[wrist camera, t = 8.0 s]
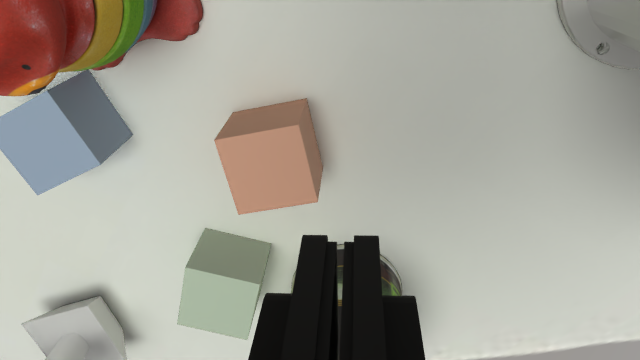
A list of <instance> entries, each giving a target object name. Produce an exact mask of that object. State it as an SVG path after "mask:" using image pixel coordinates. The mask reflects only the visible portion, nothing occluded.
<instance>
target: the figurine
mask: <svg viewBox="0 0 640 360" xmlns="http://www.w3.org/2000/svg"><path fill="white" fill-rule="evenodd" d="M22 326H23V327H24V328H25V330H26V331H27V332H28V333H29V335H30V336H31V337H32V339H33V340H34V341H35V342H36V344H37V345H38V346H39V348H40V349H41V350H42V352H43V353H44V354H45V355H46V357H47V358H46V359H45V360H127V357H126V349H125V342H124V335H123V328H122V327H121V325H120V324H119V322H118V321H117V319H116V318H115V316H114V315H113V313H112V312H111V311H110V309H109V308H108V306H107V305H106V303H105V302H104V300H103V299H102V297H101V296H97V297H94V298H90V299H86V300H83V301H79V302H76V303H72V304H68V305H65V306H62V307H60V308H57V309H55V310H53V311H50V312H48V313H46V314H43V315H41V316H38V317H36V318H34V319H31V320H29V321H27V322H24V323H22Z"/></svg>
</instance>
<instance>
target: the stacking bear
mask: <svg viewBox="0 0 640 360" xmlns="http://www.w3.org/2000/svg"><path fill="white" fill-rule="evenodd" d="M202 15H203V10H202V5H201V2H200V0H0V95H1V96H24V95H30V94H36V93H39V92H40V91H41V90H43V89H45V88H46V86H47V85H48V84H49V83H50V82H51V81H52V80H53V79H54V78H55V76H56V74H57V73H58V72H68V71H82V70H88V69H93V70H102V69H105V68H106V67H107V68H111V67H115V66H117V65H118V64H119V63H120V62H121V61H122V59H123V57H124V56H125V54H126V53H127V51H128V50H129V49H130V48H132V47H133V46H134V45H135V44H136V43H137V42H139V41H142V40H145V39H150V38H155V39H163V40H169V41H182V40H184V39H185V38H186V37H187V36H188V35H192V34H195V33H196V32H197V31H198V27H199V22H200V21H201V19H202Z"/></svg>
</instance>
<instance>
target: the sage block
mask: <svg viewBox="0 0 640 360" xmlns="http://www.w3.org/2000/svg"><path fill="white" fill-rule="evenodd" d="M270 247H271V243H267V242H263V241H258V240H254V239H250V238H246V237H241V236H237V235H233V234H229V233H224V232H220V231H216V230H212V229H207V228H205V230H204V232H203V234H202V236H201V238H200V240H199V242H198V244H197V245H196V247H195V249H194V251H193V253H192V255H191V257H190V259H189V261H188V263H187V265H186V267H185V274H184V281H183V287H182V294H181V301H180V308H179V315H178V322H177V324H179V325H183V326H187V327H192V328H196V329H201V330H205V331H209V332H214V333H218V334H223V335H227V336H232V337H236V338H240V339H245V340H247V339H248V336H249V332H250V328H251V324H252V321H253V317H254V313H255V310H256V306H257V302H258V298H259V295H260V290H261V286H262V282H263V277H264V273H265V268H266V264H267V260H268V255H269V251H270Z"/></svg>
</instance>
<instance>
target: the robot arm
mask: <svg viewBox="0 0 640 360" xmlns="http://www.w3.org/2000/svg"><path fill="white" fill-rule="evenodd" d="M557 4H558V9H559V15H560V18H561V20H562V22H563V25H564V27H565V30H566V31H567V33H568V34H569V36H570V37H571V39H572V40H573V41H574V43H575V44H576V45H577V46H578V47H580V48H581V49H582V50H583V51H584V52H585V53H586V54H588V55H590V56H591V57H593V58H595V59H596V60H598V61H601V62H603V63H606V64H608V65H611V66H613V67H619V68H624V69H640V0H557ZM600 43H601V47H600V48H599V49H596V48H597V46H598V45H599V44H600ZM338 347H339V328H338V273H337V242H328V237H327V235H303V237H302V242H301V247H300V253H299V258H298V264H297V270H296V275H295V281H294V286H293V292H292V294H284V293H267V294H266V295H265V297H264V300H263V304H262V308H261V312H260V316H259V320H258V324H257V327H256V331H255V335H254V339H253V343H252V347H251V351H250V355H249V359H248V360H338ZM339 360H425V355H424V348H423V342H422V335H421V329H420V322H419V316H418V310H417V303H416V298H415V296H391V295H382V281H381V266H380V250H379V236H354V242H344V262H343V285H342V308H341V331H340V354H339Z"/></svg>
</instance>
